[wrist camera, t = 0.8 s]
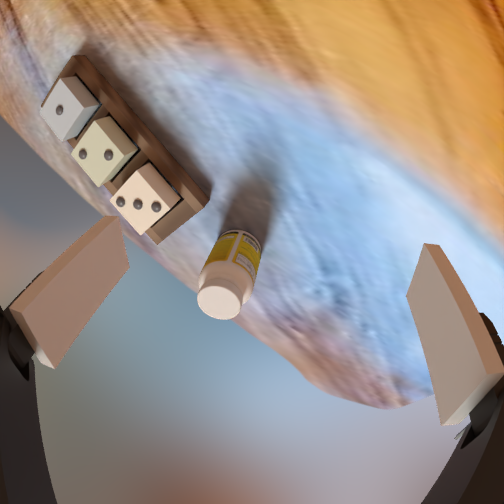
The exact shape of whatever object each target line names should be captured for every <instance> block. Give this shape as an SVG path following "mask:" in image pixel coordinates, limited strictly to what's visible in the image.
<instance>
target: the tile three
mask: <svg viewBox="0 0 504 504" xmlns="http://www.w3.org/2000/svg"><path fill="white" fill-rule="evenodd" d="M180 199H181V198H180V197H179V196H178V194H177V193H176V192H175V191H174V190H173V189H172V188H171V186H170V185H169V184H168V183H167V182H166V181H165V180H164V178H163V177H162V176H161V175H160V174H159V173H158V171H157V170H156V169H155V168H154V167H153V166H152V165H151V163H150V162H149V163H148V164H146V165H144V166H143V167H141V168H139V169H138V170H136V171H135V173H134V174H133V175H132V176H131V177H130V178H129V179H128V180H127V181H126V182H125V183H124V185H123V186H122V187H121V188H120V189H119V190H118V191H117V192H116V194H115V195H114V196H113V197H112V198H111V199H110V202H111V203H112V204H113V205H114V206H115V207H116V209H117V210H118V211H119V212H120V213H121V214H122V215H123V216H124V218H125V219H126V220H127V221H128V222H129V223H130V224H131V225H132V227H133V228H134V229H135V230H136V231H137V232H138V233H139V234H140V235H142V234H143V233H144V232H145V231H146V230H147V229H148V228H149V227H150V226H152V225H153V224H154V223H155V222H156V221H157V220H158V219H159V218H161V217H162V216H163V215H164V214H165V213H166V212H167V211H169V210H170V209H171V208H172V207H173V206H174V205H175V204H176V203H177V202H178V201H179V200H180Z"/></svg>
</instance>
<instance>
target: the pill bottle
mask: <svg viewBox="0 0 504 504" xmlns="http://www.w3.org/2000/svg"><path fill="white" fill-rule="evenodd" d="M260 259H261V247H260V244H259V242H258V241H257V239H256V238H255V237H254V236H253V235H251V234H250V233H248V232H246V231H242V230H230V231H227V232H225V233H223V234H222V235H221V236H220V237H219V238H218V240H217V241H216V243H215V245H214V247H213V249H212V251H211V253H210V255H209V257H208V259H207V261H206V263H205V265H204V267H203V269H202V271H201V273H200V276H199V287H200V290H199V293H198V297H197V301H198V304H199V306H200V308H201V309H202V311H204V312H205V313H206V314H207V315H209V316H211V317H213V318H217V319H230V318H233V317H235V316H236V315H237V314H238V313H239V311H240V309H241V306H242V304H244V303H245V302H246V301H247V300H248V299H249V298H250V296H251V294H252V291H253V287H254V283H255V279H256V275H257V271H258V267H259V263H260Z"/></svg>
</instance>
